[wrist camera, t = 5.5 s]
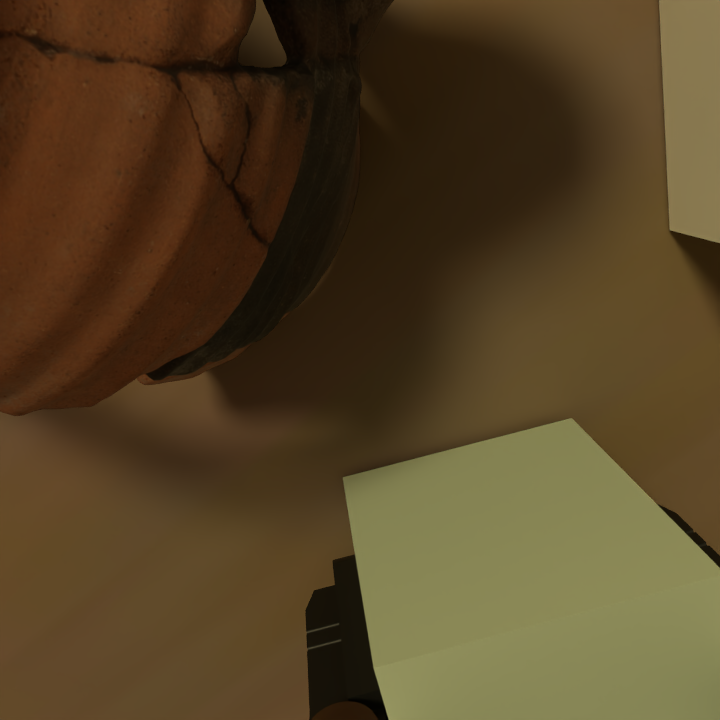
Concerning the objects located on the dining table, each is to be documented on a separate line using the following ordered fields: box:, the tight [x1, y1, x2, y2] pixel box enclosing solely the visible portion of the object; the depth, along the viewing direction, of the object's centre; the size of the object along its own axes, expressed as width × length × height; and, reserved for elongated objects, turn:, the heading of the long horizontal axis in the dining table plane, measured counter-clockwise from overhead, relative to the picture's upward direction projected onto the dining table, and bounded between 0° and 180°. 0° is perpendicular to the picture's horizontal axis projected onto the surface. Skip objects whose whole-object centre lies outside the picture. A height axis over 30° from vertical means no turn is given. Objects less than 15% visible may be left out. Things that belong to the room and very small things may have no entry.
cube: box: [343, 418, 720, 720], centre depth 12 cm, size 5×5×5 cm
